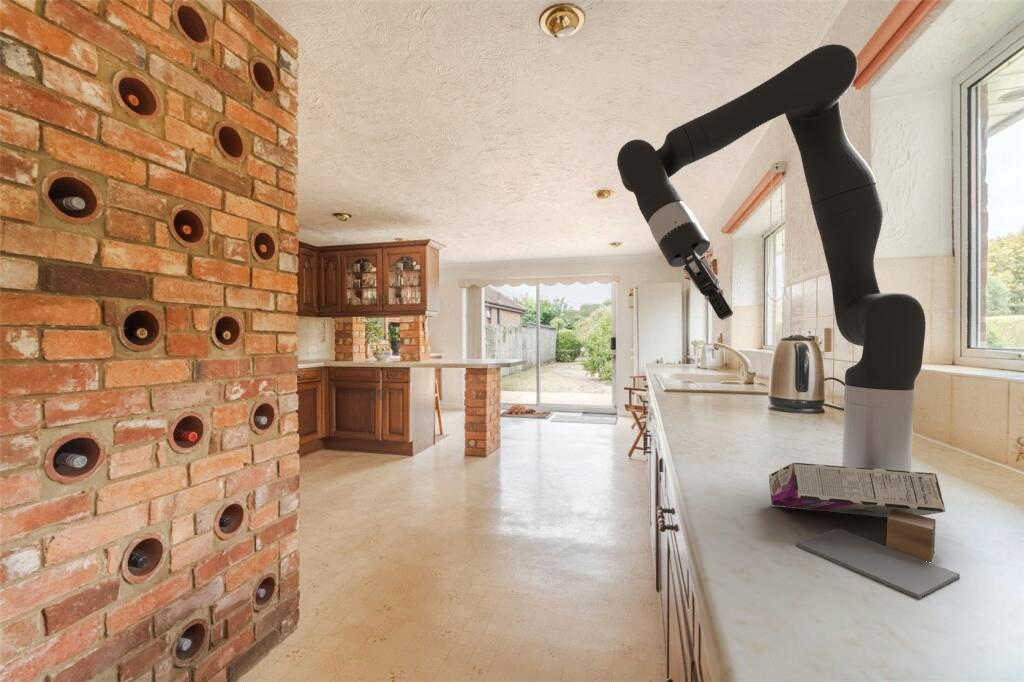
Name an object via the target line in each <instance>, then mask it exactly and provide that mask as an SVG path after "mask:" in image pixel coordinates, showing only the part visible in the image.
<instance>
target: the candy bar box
mask: <svg viewBox="0 0 1024 682" xmlns="http://www.w3.org/2000/svg"><path fill="white" fill-rule="evenodd" d="M768 483H769V492H770V501H771V505H772V506H773V505H774V507H775V506H776V507H783V506H785V507H784V508H793V507H794V509H803V508H804V510H806V509H807V510H812V509H813V510H812V511H814V510H815V511H825V512H836V513H845V514H854V515H863V516H864V515H865V516H873V517H874V516H875V517H883V518H884V517H885V518H888V516H889V514H890V513H891V511H892V510H898V511H902V512H906V513H910V514H915V515H919V516H927V515H928V516H929V515H935V514H940V513H941V514H942V513H946V509H945V504H944V503H945V502H944V500H943V497H942V496H943V495H942V492H941V487H940V483H939V480H938V476H937V474H936V473H935V472H934V473H933V472H918V471H911V472H908V471H897V470H884V469H868V468H856V467H843V466H841V465H829V464H828V465H827V464H814V463H805V462H792V463H789V464H788V465H786V466H784V467H782V468H780V469H778V470H777V471H774V472H772V473H769V474H768Z"/></svg>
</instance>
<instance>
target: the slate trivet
mask: <svg viewBox="0 0 1024 682" xmlns="http://www.w3.org/2000/svg"><path fill="white" fill-rule="evenodd" d="M795 543H796V546H797V547H799V548H801V549H804V550H805V551H808V552H811V553H813V554H815V555H818V556H819V557H821V558H824V559H826V560H828V561H831V562H833V563H835V564H838V565H840V566H842V567H845V568H847V569H850V570H852V571H853V572H856V573H859V574H862V575H863V576H866V577H868V578H869V579H870V578H871V579H872V580H874V581H877V582H879V583H882V584H884V585H886V586H888V587H891V588H893V589H895V590H898V591H900V592H902V593H904V594H907V595H909V596H911V595H912V596H911V597H913V596H915V597H914V598H916V597H917V598H916V599H918V598H919V599H921V598H923V597H925V596H927V595H929V594H931V593H933V592H935V591H936V589H937V590H938V588H939V589H941V588H943V587H944V586H946V585H948V584H950V583H952V582H954V581H956V580H958V579H960V573H958V572H955V571H953V570H950V569H947V568H944V567H942V566H939V565H937V564H935V563H933V562H931V563H929V562H926V561H924V560H921V559H918V558H916V557H913V556H910V555H907V554H905V553H902V552H899V551H897V550H894V549H891V548H889V547H886V545H883V544H880V543H878V542H875V541H872V540H869V539H867V538H864V537H861V536H858V535H856V534H853V533H851V532H848V531H845V530H843V529H840V528H836V529H833V530H829V531H827V532H825V533H821V534H818V535H814V536H811V537H808V538H804V539H803V540H802V539H801V540H800V541H796V542H795ZM940 587H941V588H940ZM934 590H935V591H934ZM932 591H933V592H932ZM930 592H931V593H930ZM928 593H929V594H928ZM926 594H927V595H926ZM924 595H925V596H924ZM922 596H923V597H922ZM920 597H921V598H920Z"/></svg>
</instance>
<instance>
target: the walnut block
mask: <svg viewBox="0 0 1024 682" xmlns="http://www.w3.org/2000/svg"><path fill="white" fill-rule="evenodd" d="M886 520H887V522H886V545H885V546H886V547H889V548H891V549H894V550H897V551H899V552H902V553H905V554H907V555H910V556H913V557H916V558H918V559H921V560H924V561H927V562H931V563H933V562H932V561H933V559H934V555H933V554H935V547H936V545H935V544H936V518H932V517H928V516H927V517H926V516H924V515H920V516H919V515H915V514H910V513H906V512H902V511H898V510H892V511H891V513H890V514H889V516H888V517H886ZM932 558H933V559H932Z"/></svg>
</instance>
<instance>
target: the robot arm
mask: <svg viewBox="0 0 1024 682" xmlns="http://www.w3.org/2000/svg"><path fill="white" fill-rule="evenodd" d="M858 70H859V63H858V58H857V56H856V54H855V52H854V51H852V49H850V48H849V47H848V46H845V45H842V44H836V43H835V44H826V45H823V46H818V47H817V48H815V49H813V50H812V51H810V52H809V53H807V54H806V55H804V56H802V57H801V58H800V59H797V61H795V62H793V63H792V64H790V65H789V66H787V67H785V68H784V69H783V70H781V71H780V72H778V73H777V74H774V76H772V77H771V78H769V79H767V80H766V81H764V82H762V83H761V84H759V85H757V86H756V87H754V88H752V89H750V90H749V91H746V92H745V93H743V94H741V95H740V96H738V97H736V98H734V99H732V100H730V101H728V102H726V103H724V104H722V105H720V106H718V107H716V108H715V109H713V110H710V111H708V112H707V113H704V114H702V115H700V116H698V117H695V118H694V119H692V120H689V121H687V122H685V123H683V124H682V125H679V126H677V127H675V128H673V129H671V130H670V131H669V132H668V133H666V136H665V140H664V143H662V144H663V145H661V147H659V148H658V149H655V147H654V146H653V145H652V144H651V143H649V142H648V141H646V140H643V139H632V140H629V141H627V142H626V143H624V144H623V146H621V148H620V150H619V152H618V154H617V158H616V159H617V160H616V165H617V169H618V173H619V175H620V180H621V183H622V184H623V187H624V188H625V189H626V191H628V192H631V193H633V194H634V196H635V199H636V202H637V205H638V208H639V210H640V213H641V216H643V218H644V220H645V221H646V223H647V225H648V226H649V228H650V233H651V235H652V237H653V239H654V240H655V242H656V244H657V246H658V248H659V250H660V251H661V253H662V255H663V256H664V258H665V260H666V261H667V264H668V265H669V266H670V267H673V268H679V267H684V268H682V270H683V271H684V273H685V274H686V276H687V277H688V278H690V280H691V282H692V283H693V285H694V287H695V288H696V289H697V290H698V291H699V292H700V294H702V295H703V296H704V299H705V300H706V301H707V302H709V304H710V306H711V307H712V309H713V310H714V312H715V315H716V316H717V318H718V319H720V320H722V321H724V320H726V319H728V318H730V317H732V316H733V315H734V312H733V310H732V308H731V307H730V305H729V303H728V302H727V300H726V298H725V296H724V290H723V289H721V287H720V285H719V283H720V280H719V278H718V277H717V275H716V274H715V271H714V268H713V265H712V264H711V262H710V260H709V259H707V257H706V256H705V255H704V254H705V253H706V252H707V251H708V250H709V248H710V245H711V242H710V239H709V237H708V236H707V234H706V232H705V231H704V230H703V227H702V226H701V225H700V223H699V222H698V220H697V218H696V217H695V216H694V213H693V212H692V211H691V210H690V208H689V207H688V206H687V205H686V204H685V202H684V200H683V199H682V197H681V195H680V194H679V192H678V191H677V189H676V188H675V187H674V185H673V184H672V182H671V180H670V179H669V178H671V177H673V176H674V175H675V174H676V173H678V172H679V171H680V170H681V169H683V168H685V167H686V166H688V165H691V164H694V163H695V162H698V161H699V160H702V159H704V158H706V157H708V156H711V155H712V154H715V153H717V152H719V151H721V150H722V149H724V148H726V147H728V146H730V145H731V144H733V143H734V142H736V141H737V140H739V139H740V138H741V139H742V137H744V136H745V135H747V134H748V133H750V132H752V131H753V130H755V129H757V128H758V127H761V126H762V125H764V124H766V123H767V122H768V123H769V122H770V121H772V120H774V119H775V118H778V117H780V116H783V115H784V114H785V115H784V116H785V117H786V120H787V122H788V124H789V127H790V129H791V131H792V135H793V137H794V139H795V142H796V145H797V147H798V152H799V154H800V159H801V163H802V164H801V165H802V169H803V173H804V178H805V181H806V185H807V190H808V194H809V198H810V205H811V208H812V212H813V216H814V219H815V223H816V226H817V230H818V232H819V236H820V240H821V243H822V248H823V252H824V257H825V260H826V261H825V262H826V264H827V268H828V275H829V279H830V284H831V292H832V294H831V295H832V301H833V308H834V315H835V322H836V324H837V325H836V326H837V329H838V330H839V333H840V334H841V336H842V338H844V339H845V340H846V341H847V342H848V343H850V344H853V345H855V346H859V347H862V353H861V357H860V360H859V361H858V362H857V363H856V364H854V365H853V366H850V367H848V368H847V369H846V370H845V373H844V374H845V375H844V392H843V393H844V397H843V404H844V405H843V409H844V410H843V430H842V431H843V432H842V457H841V459H842V460H841V461H842V462H841V465H842V466H843V467H856V468H868V469H884V470H897V471H908V472H912V461H913V459H912V458H913V454H912V453H913V436H914V435H913V433H914V431H913V430H914V402H915V401H914V399H915V398H914V397H915V382H916V378H917V377H918V376H919V374H920V372H921V369H922V366H923V365H922V364H923V356H924V347H925V340H926V339H925V338H926V316H925V315H926V314H925V312H924V311H925V310H924V309H923V306H922V304H921V302H919V300H918V299H916V298H915V297H914V296H912V295H911V294H908V293H904V292H899V291H898V292H897V291H896V292H895V291H894V292H893V291H892V292H891V291H890V292H882V293H881V291H880V287H879V283H878V280H877V276H876V272H875V267H874V266H875V262H874V260H875V259H874V258H875V252H876V249H877V246H878V245H877V244H878V242H879V241H878V240H879V237H880V234H881V229H882V225H883V217H884V215H883V214H884V213H883V211H884V210H883V205H882V204H883V203H882V200H881V197H880V193H879V189H878V186H877V181H876V178H875V175H874V173H873V171H872V169H871V167H870V166H869V165H868V163H867V162H866V160H865V159H864V158H863V157H862V156H861V154H860V153H859V152H858V151H857V150H856V149H855V147H854V146H853V144H852V143H851V141H850V140H849V137H848V135H847V132H846V131H845V127H844V122H843V118H842V117H843V116H842V111H841V104H840V99H841V98H842V97H843V96H844V95H845V94H846V93H847V92H848V91H849V89H850V87H851V86H852V85H853V82H854V81H855V79H856V76H857V74H858ZM703 255H704V256H703Z"/></svg>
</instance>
